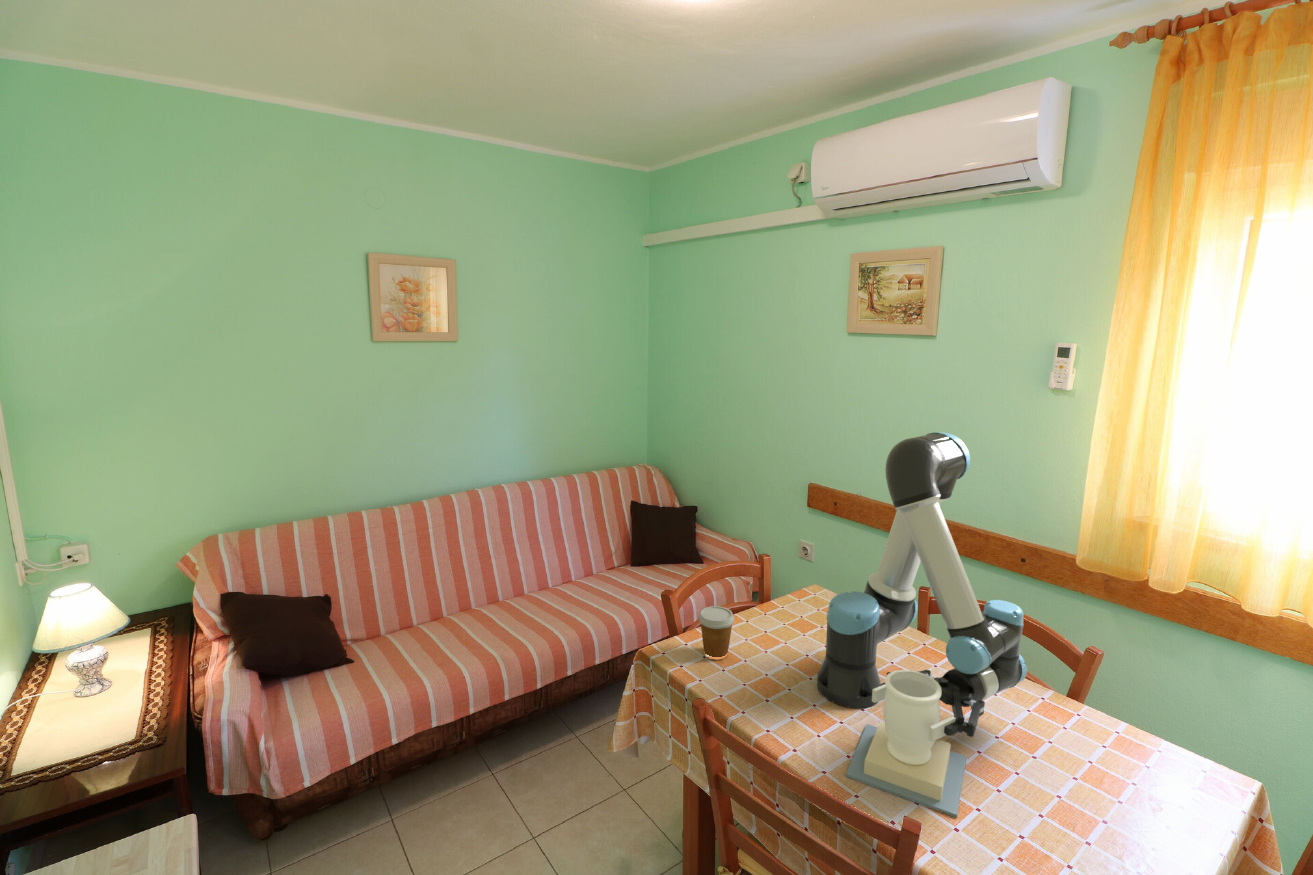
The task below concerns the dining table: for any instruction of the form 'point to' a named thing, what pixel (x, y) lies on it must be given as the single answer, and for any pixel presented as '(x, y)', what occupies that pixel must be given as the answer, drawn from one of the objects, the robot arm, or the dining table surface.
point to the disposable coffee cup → (716, 630)
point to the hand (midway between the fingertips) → (900, 714)
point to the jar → (910, 714)
